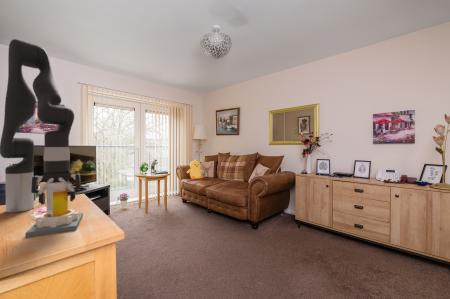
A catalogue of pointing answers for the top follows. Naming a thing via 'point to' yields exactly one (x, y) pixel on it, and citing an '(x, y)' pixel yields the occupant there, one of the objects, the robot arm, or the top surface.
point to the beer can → (57, 199)
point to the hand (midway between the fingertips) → (57, 202)
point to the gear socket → (55, 223)
